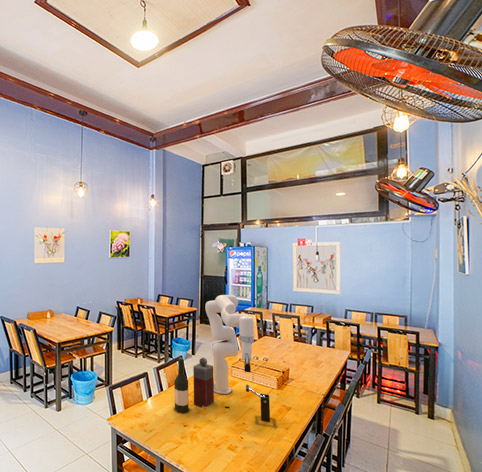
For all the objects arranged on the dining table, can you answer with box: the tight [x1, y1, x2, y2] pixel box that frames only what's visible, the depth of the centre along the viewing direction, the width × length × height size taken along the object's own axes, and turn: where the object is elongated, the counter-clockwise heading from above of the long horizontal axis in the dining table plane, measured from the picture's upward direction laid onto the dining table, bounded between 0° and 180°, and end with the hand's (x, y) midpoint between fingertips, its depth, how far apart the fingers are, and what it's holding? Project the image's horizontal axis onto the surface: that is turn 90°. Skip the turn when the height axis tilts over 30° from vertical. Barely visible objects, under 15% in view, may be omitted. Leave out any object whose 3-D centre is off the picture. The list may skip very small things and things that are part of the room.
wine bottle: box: [174, 357, 190, 414], centre depth 186 cm, size 8×8×30 cm
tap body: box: [259, 393, 271, 423], centre depth 172 cm, size 9×8×14 cm
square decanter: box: [192, 357, 215, 408], centre depth 193 cm, size 9×11×28 cm
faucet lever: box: [245, 384, 266, 398], centre depth 174 cm, size 12×6×2 cm, turn 69°
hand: (247, 371), depth 176 cm, fingers closed
